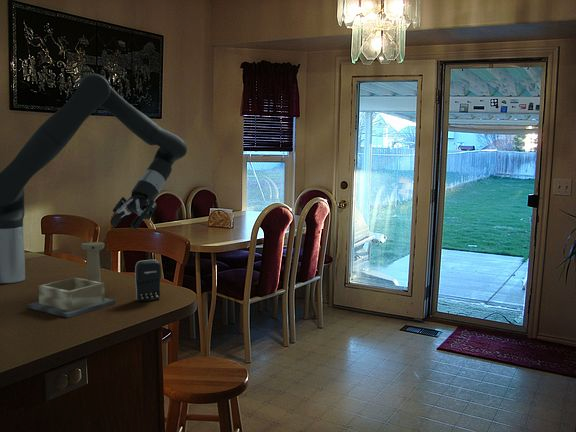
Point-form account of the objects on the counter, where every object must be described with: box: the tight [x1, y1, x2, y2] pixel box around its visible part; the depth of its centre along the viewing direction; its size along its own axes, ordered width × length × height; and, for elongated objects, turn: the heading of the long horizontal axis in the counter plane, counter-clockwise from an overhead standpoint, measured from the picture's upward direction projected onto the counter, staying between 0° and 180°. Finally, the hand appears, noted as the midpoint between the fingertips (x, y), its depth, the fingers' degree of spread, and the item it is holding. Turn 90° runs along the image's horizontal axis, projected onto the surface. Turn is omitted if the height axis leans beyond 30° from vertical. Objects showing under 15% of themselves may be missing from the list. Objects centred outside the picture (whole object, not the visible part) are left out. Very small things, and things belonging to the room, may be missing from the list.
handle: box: [80, 241, 105, 283], centre depth 177 cm, size 5×6×15 cm
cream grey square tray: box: [27, 277, 116, 319], centre depth 165 cm, size 16×16×6 cm
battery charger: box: [134, 259, 162, 302], centre depth 172 cm, size 7×4×11 cm, turn 120°
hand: (122, 226), depth 186 cm, fingers open, 8 cm apart
